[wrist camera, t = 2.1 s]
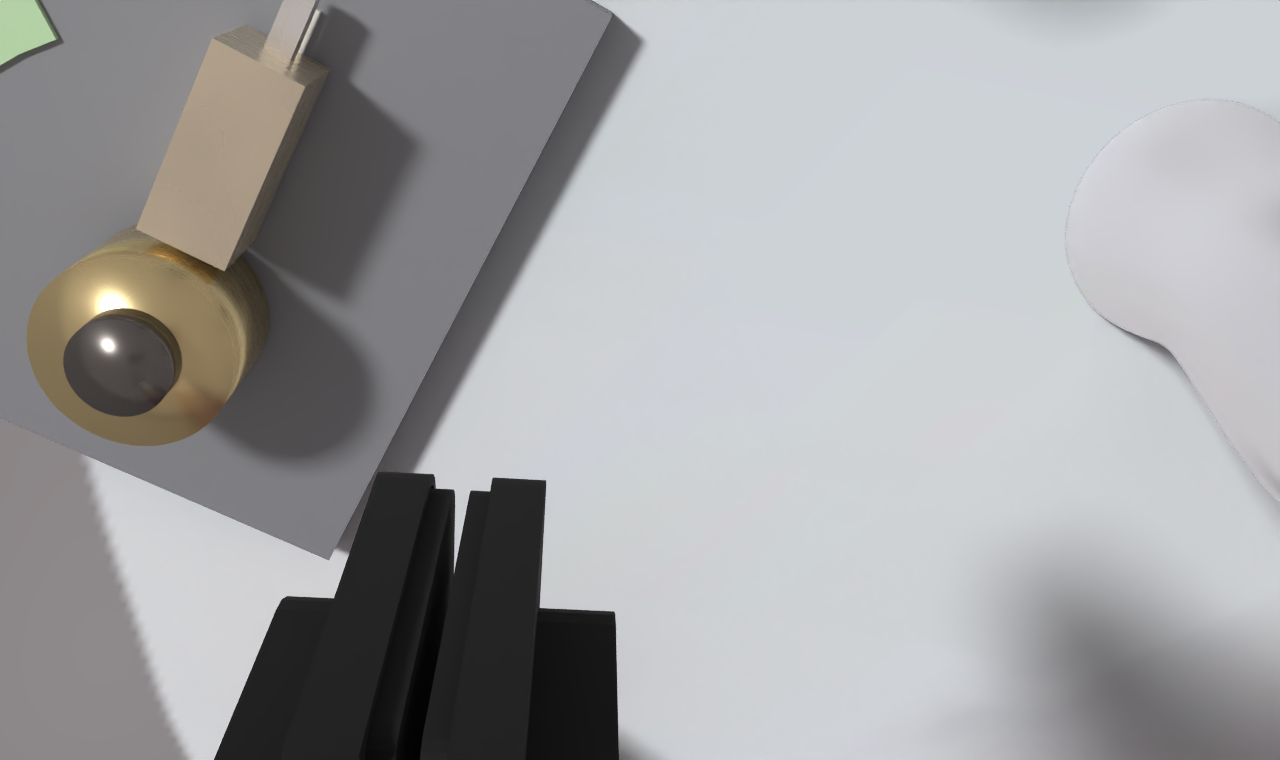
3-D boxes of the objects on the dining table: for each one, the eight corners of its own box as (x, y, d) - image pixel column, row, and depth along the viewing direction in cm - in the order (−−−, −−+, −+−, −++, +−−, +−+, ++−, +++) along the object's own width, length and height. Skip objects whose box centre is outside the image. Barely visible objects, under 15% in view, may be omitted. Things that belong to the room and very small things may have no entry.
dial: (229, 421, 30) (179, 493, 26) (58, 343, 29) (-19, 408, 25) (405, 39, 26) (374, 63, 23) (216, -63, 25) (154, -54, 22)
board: (336, 540, 32) (327, 563, 31) (-350, 241, 29) (-387, 254, 28) (611, 12, 27) (612, 17, 26) (-185, -443, 23) (-222, -458, 22)
